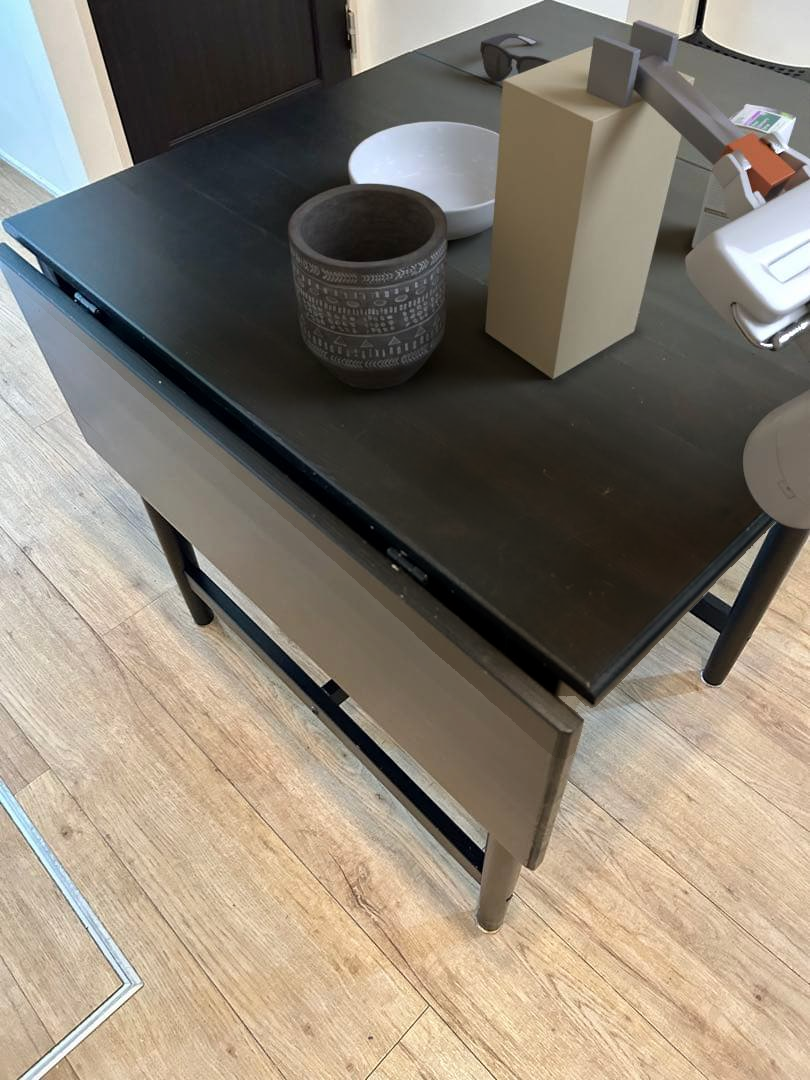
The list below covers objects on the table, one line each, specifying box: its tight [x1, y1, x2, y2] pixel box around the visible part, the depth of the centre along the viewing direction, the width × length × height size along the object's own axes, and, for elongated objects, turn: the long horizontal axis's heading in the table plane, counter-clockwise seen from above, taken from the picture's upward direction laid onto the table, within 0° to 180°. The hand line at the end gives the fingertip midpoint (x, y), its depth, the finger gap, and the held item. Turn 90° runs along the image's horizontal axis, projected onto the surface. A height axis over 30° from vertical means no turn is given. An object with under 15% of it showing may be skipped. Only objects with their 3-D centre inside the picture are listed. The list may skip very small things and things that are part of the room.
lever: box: [633, 53, 795, 203], centre depth 62 cm, size 14×3×2 cm, turn 39°
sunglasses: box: [479, 32, 553, 83], centre depth 127 cm, size 16×17×5 cm
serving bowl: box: [347, 121, 499, 241], centre depth 99 cm, size 21×21×7 cm
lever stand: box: [484, 19, 695, 380], centre depth 76 cm, size 10×12×29 cm
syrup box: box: [691, 103, 797, 249], centre depth 91 cm, size 6×6×14 cm
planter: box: [287, 183, 448, 390], centre depth 79 cm, size 14×14×15 cm
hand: (743, 148), depth 61 cm, fingers closed on lever, 3 cm apart
